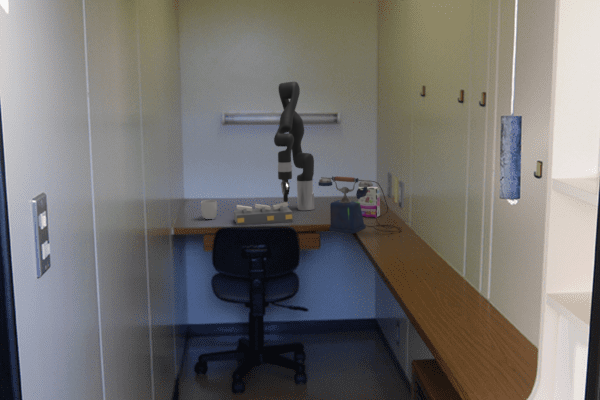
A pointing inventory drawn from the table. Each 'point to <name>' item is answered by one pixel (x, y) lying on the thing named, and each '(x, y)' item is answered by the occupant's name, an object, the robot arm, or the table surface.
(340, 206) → the rotary telephone
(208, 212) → the mug
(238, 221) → the switch unit
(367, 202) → the candy bar box
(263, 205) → the rocker middle
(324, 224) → the table surface
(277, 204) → the plate
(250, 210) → the rocker
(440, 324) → the table surface
